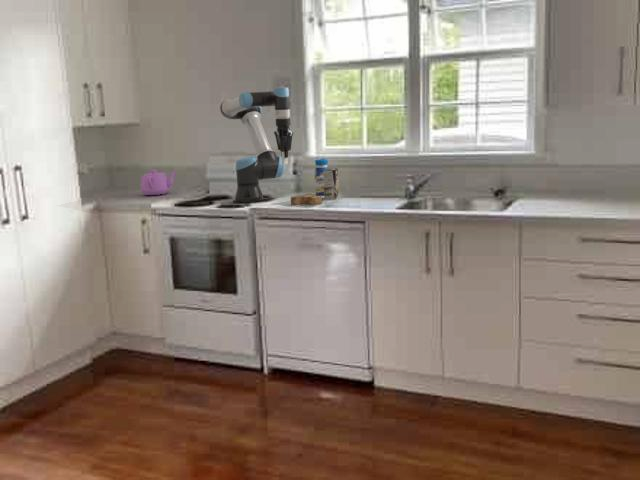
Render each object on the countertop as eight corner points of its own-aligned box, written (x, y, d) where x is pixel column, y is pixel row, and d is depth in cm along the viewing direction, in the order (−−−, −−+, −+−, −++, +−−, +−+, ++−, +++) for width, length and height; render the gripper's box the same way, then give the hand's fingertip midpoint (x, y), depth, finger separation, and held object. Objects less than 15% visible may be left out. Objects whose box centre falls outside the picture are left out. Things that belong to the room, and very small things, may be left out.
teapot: (136, 198, 398) (133, 172, 395) (146, 193, 419) (144, 168, 415) (174, 196, 397) (171, 171, 394) (183, 191, 417) (180, 167, 414)
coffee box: (336, 201, 348) (335, 170, 344) (324, 201, 349) (322, 170, 346) (339, 198, 357) (338, 167, 353) (327, 198, 358) (326, 168, 354)
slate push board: (273, 205, 344) (273, 203, 344) (300, 200, 356) (300, 198, 356) (307, 209, 326) (307, 208, 326) (334, 204, 338) (334, 202, 337)
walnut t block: (291, 204, 338) (290, 196, 338) (310, 201, 347) (309, 193, 346) (309, 207, 329) (308, 198, 328) (328, 203, 337) (327, 195, 336)
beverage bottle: (332, 194, 371) (330, 158, 367) (329, 197, 363) (328, 159, 359) (316, 195, 372) (315, 158, 368) (314, 197, 364) (312, 160, 360)
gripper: (269, 118, 346) (271, 164, 352) (285, 118, 337) (287, 165, 343) (280, 117, 351) (282, 162, 357) (296, 117, 342) (298, 164, 348)
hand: (285, 163), depth 350 cm, fingers closed
